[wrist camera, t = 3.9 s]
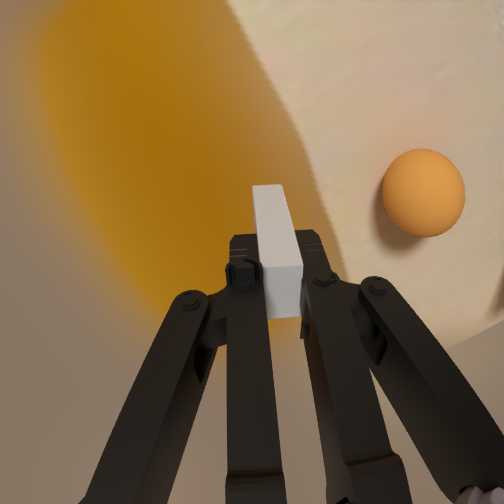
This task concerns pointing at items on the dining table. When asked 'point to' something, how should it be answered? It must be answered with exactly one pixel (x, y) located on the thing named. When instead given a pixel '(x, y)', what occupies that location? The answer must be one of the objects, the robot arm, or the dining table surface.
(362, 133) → the dining table surface
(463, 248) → the dining table surface
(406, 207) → the ball
